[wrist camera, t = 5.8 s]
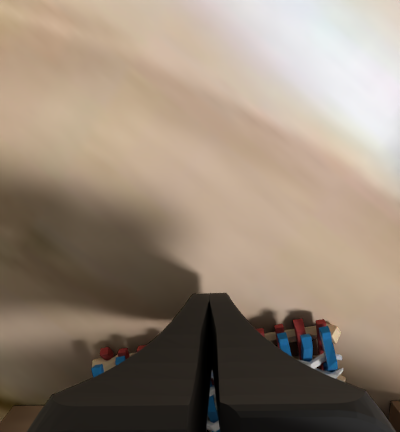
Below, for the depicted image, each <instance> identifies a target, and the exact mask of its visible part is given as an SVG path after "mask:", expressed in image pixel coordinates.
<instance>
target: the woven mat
mask: <svg viewBox="0 0 400 432" xmlns="http://www.w3.org/2000/svg"><path fill="white" fill-rule="evenodd" d="M293 324H294V329H290V330H284V327H283V324H278V325H274V326H275V332H270V333H264V329H263V328H260V329H256V330H257V331H258V332H259V333H260V334H261V335H262V336H264V337H265V338H266V339H267V340H269V341H270V342H271V343H273V344H274V345H276V344H277V346H278V348H279V349H281V350H282V351H284V352H285V353H287V354H289V355H290V356H292V355H291V351H290V347H289V343H290V342H297V346H298V352H299V356H292V357H293V358H295V359H297V360H298V361H300V362H302V363H304V364H306V365H307V366H309V367H311V368H313V369H315V370H317V371H320V372H322V373H324V374H326V375H328V376H330V377H333V378H335V379H338V380H340V381H343V382H345V381H346V378H345V377H344V376H342V375H341V373H342V372H343V368H341V369H339V370H337V369H338V366H337V360H342V356H341V355H339V354H336V353H335V350H334V346H333V343H334V344H336V343H337V341H338V338H339V336H340V334H341V332H340V330H339V329H338V327H337V326H334V325H331V324H326V322H325V320H324V319H322V320H316V326H310V327H304V323H303V319H296V320H293ZM312 339H317V341H318V352H319V355H312V353H313V346H312ZM145 346H146V345H141V346H138V349H137V352H138V351H139V350H141V349H142V348H144V347H145ZM133 354H135V353H130V354H129V352H128V348H123V349H119V351H118V355H116V356H115V357H114V354H113V351H112V350H111V349H110V348H109V347H106V348H101V350H100V356H101V357H102V358H100V359H95V360H92V368H91V370H92V374H93V378H94V377H96V376H98V375H100V374H101V373H103V372H105V371H107V370H109V369H111V368H113V367H114V366H116V365H118V364H120V363H121V362H123V361H124V360H126V359H127V358H129V357H130V356H132V355H133ZM319 365H320V369H317V368H316V367H318V366H319ZM335 370H336V371H335ZM206 429H209V430H211V431H210V432H220V427H219V419H218V411H217V403H216V395H215V387H214V380H213V371H212V373H211V384H210V395H209V406H208V417H207V428H206Z"/></svg>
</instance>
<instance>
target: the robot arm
mask: <svg viewBox="0 0 400 432" xmlns="http://www.w3.org/2000/svg"><path fill="white" fill-rule="evenodd" d="M212 371H213V379H214V387H215V395H216V403H217V411H218V419H219V427H220V432H396V431H395V429H394V428H393V426H392V425H391V423H390V422H389V420H388V419H387V418H386V416H385V415H384V413H383V412H382V411H381V409H380V408H379V407H378V406H377V404H376V403H375V402H374V401H373V399H372V398H371V397H370V396H369V394H368V393H367V392H366V390H363V389H361V388H358V387H356V386H353V385H351V384H348V383H345V382H343V381H340V380H338V379H335V378H333V377H330V376H328V375H326V374H324V373H322V372H320V371H317V370H315V369H313V368H311V367H309V366H307V365H306V364H304V363H302V362H300V361H298V360H297V359H295V358H293V357H292V356H290V355H289V354H287V353H285V352H284V351H282V350H281V349H279V348H278V347H276V346H275V345H274V344H273V343H271V342H270V341H269V340H267V339H266V338H265V337H264V336H262V335H261V334H260V333H259V332H258V331H257V330H256V329H255V328H254V327H253V326H252V325H251V324H250V323H249V322H248V321H247V319H246V318H245V317H244V316H243V315H242V314H241V312H240V311H239V310H238V309H237V307H236V306H235V305H234V303H233V302H232V300H231V299H230V297H229V295H228V294H227V293H210V295H209V294H193V295H192V296H191V297H190V298H189V300H188V301H187V303H186V304H185V305H184V307H183V308H182V309H181V311H180V312H179V313H178V314H177V316H176V317H175V318H174V319H173V320H172V322H171V323H170V324H169V325H168V326H167V327H166V328H165V329H164V330H163V331H162V332H161V333H160V334H159V335H158V336H157V337H156V338H155V339H154V340H152V341H151V342H150V343H149V344H147V345H146V346H145V347H144V348H142V349H141V350H139V351H138V352H136V353H135V354H133V355H132V356H130V357H129V358H127V359H126V360H124V361H123V362H121V363H120V364H118V365H116V366H114V367H113V368H111V369H109V370H107V371H105V372H103V373H101V374H100V375H98V376H96V377H94V378H91V379H89V380H87V381H85V382H82V383H80V384H78V385H75V386H73V387H70V388H68V389H66V390H63V391H61V392H58V393H56V394H53V395H52V396H51V397H50V399H49V400H48V401H47V403H46V404H45V405H44V407H43V408H42V409H41V411H40V412H39V413H38V415H37V417H36V418H35V420H34V421H33V423H32V424H31V426H30V427H29V429H28V430H27V432H206V428H207V417H208V406H209V395H210V384H211V373H212Z"/></svg>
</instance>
